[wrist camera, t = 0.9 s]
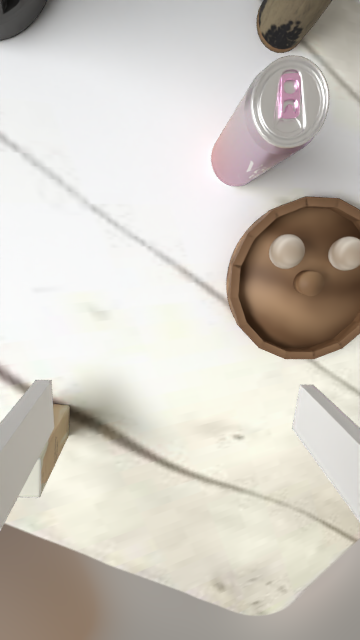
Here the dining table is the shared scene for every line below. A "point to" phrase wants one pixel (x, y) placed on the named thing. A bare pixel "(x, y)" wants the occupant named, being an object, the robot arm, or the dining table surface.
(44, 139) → the dining table surface
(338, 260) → the bead
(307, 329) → the tray
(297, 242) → the bead
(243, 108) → the beverage can
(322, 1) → the mug
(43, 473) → the box
